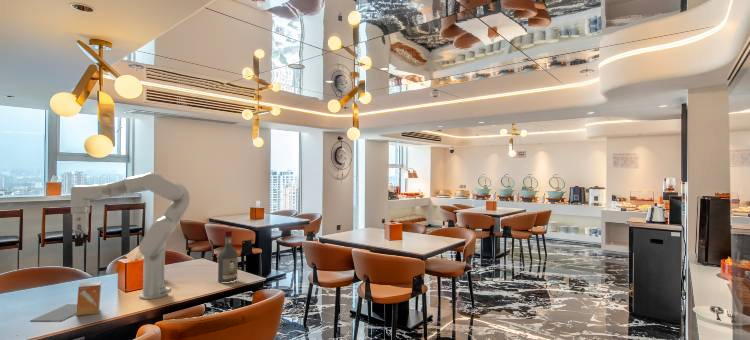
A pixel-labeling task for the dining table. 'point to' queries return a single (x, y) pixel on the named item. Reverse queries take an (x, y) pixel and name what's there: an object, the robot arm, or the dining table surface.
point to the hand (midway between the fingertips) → (80, 244)
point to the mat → (59, 313)
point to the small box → (88, 298)
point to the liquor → (227, 261)
